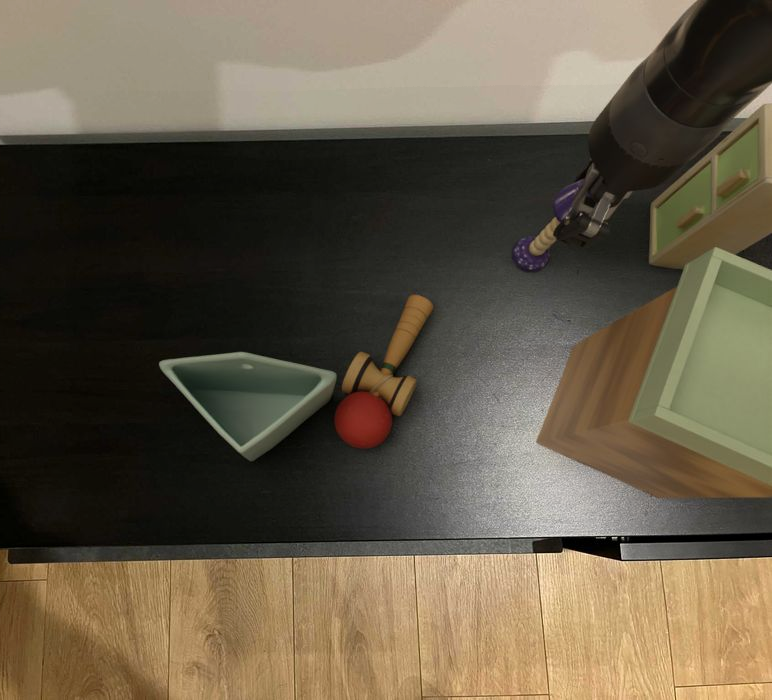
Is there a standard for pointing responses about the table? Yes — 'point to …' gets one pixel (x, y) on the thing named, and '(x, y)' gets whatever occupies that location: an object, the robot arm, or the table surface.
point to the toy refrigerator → (718, 198)
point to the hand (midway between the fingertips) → (574, 210)
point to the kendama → (380, 384)
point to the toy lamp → (544, 233)
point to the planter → (251, 395)
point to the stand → (612, 411)
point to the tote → (715, 365)
